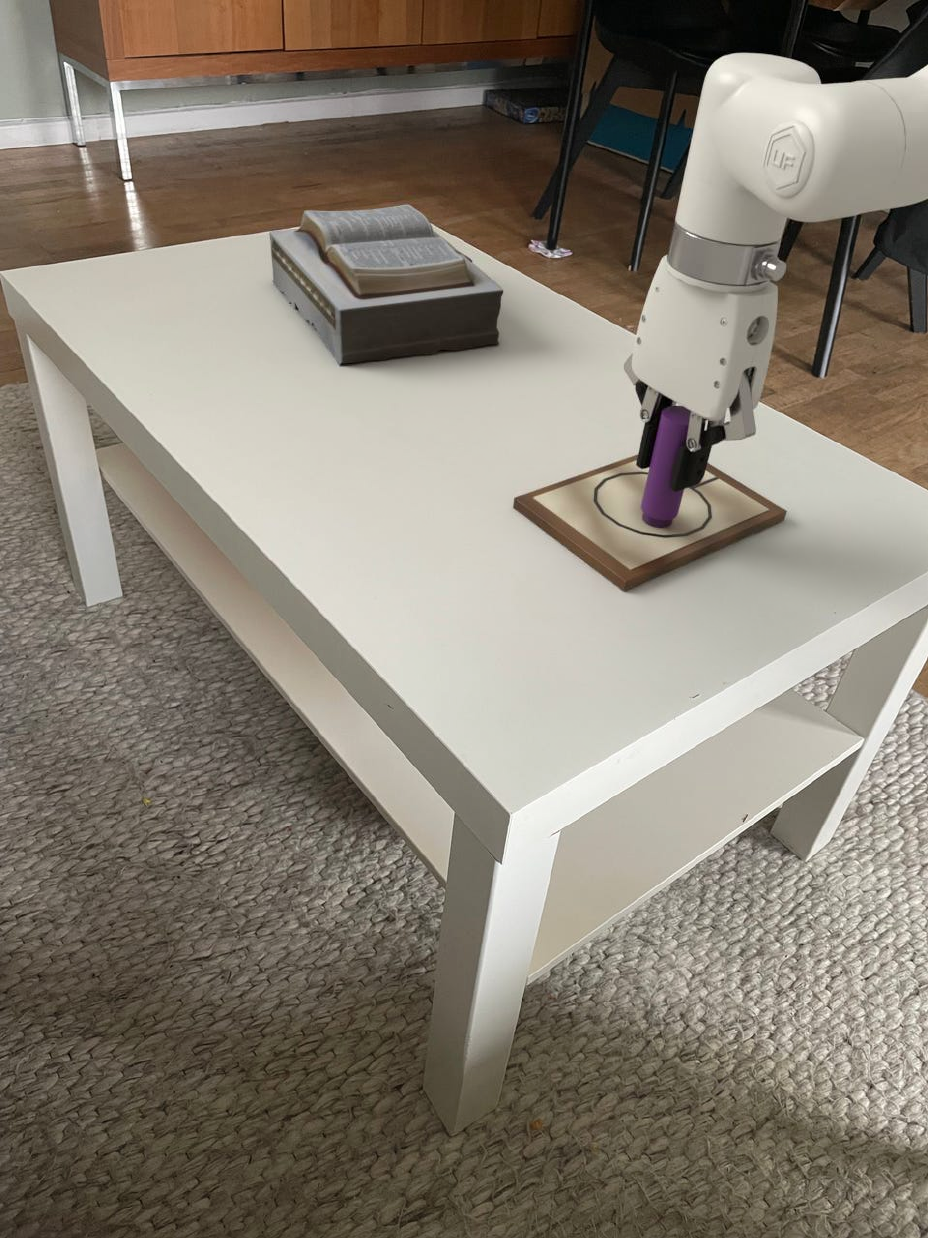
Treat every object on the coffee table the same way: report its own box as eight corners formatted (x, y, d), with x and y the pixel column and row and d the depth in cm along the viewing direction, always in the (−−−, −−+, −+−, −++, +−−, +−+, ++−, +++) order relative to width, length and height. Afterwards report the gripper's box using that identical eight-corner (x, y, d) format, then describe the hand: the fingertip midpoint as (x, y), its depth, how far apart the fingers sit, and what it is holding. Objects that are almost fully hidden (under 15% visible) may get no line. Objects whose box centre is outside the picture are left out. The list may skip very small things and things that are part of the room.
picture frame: (671, 450, 98) (673, 440, 97) (783, 520, 90) (787, 509, 89) (512, 507, 88) (514, 495, 87) (623, 591, 80) (626, 580, 79)
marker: (676, 513, 87) (703, 409, 81) (673, 533, 85) (701, 427, 78) (640, 506, 88) (664, 402, 81) (636, 525, 85) (660, 420, 79)
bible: (448, 268, 131) (454, 189, 125) (509, 358, 111) (519, 270, 105) (267, 271, 125) (264, 189, 119) (297, 368, 105) (294, 275, 99)
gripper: (847, 285, 69) (773, 511, 80) (676, 211, 78) (632, 421, 90) (776, 304, 65) (709, 537, 77) (605, 223, 75) (569, 441, 86)
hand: (668, 472), depth 83 cm, fingers closed on marker, 3 cm apart
